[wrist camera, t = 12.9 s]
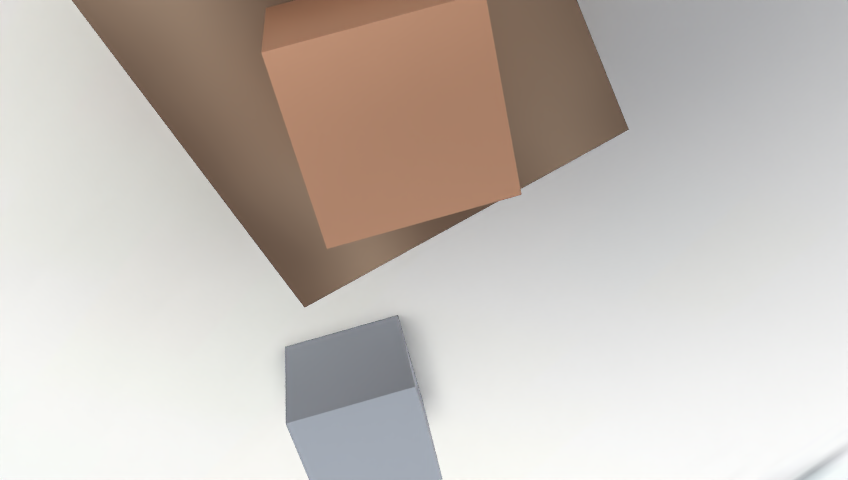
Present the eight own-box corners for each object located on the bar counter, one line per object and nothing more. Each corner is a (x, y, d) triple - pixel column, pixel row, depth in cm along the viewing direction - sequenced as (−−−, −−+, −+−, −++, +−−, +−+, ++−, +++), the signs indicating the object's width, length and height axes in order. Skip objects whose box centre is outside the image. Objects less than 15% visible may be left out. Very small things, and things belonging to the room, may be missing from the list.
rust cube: (442, -40, 21) (484, -8, 16) (476, 128, 23) (521, 194, 19) (266, 8, 21) (260, 52, 16) (318, 171, 23) (326, 248, 19)
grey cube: (397, 314, 33) (415, 386, 28) (422, 400, 35) (442, 479, 31) (285, 345, 33) (285, 423, 28) (318, 430, 35) (323, 513, 31)
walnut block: (424, -250, 24) (465, -275, 18) (566, 78, 29) (628, 129, 24) (102, -52, 25) (54, -23, 19) (300, 227, 30) (304, 307, 25)
